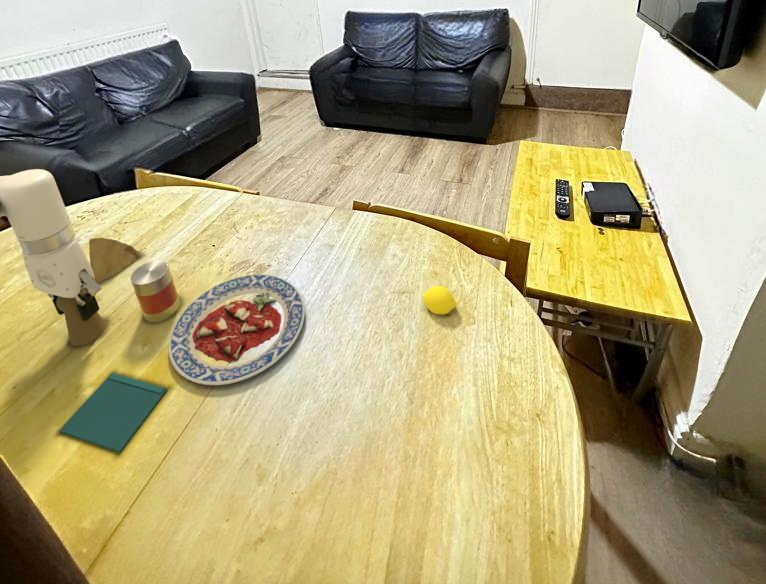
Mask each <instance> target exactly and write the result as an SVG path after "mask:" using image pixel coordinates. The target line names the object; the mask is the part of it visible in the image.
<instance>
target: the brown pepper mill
mask: <svg viewBox="0 0 766 584" xmlns="http://www.w3.org/2000/svg"><path fill="white" fill-rule="evenodd" d="M86 293H87V291H86V290H85V289H83V290H82V291H81V292H80V295H81V296H82V297H83V296H84V295H85V294H86ZM77 305H78V302H77V301H76V299H75V298H65V297H61V296H58V298H57V306H58V308H59V309H60V310H61V311H62V312H64V314H63V315H64V319H65V324H66V329H67V333H68V338H69V342H70V344H71V346H75V347H78V346H85V345H87V344H90V343H91V342H93V341H95V340H96V339H98V338H99V337H100V336H101V335H102V334H103V332H104V331H105V330H106V323H105V321H104V319H103V318H102V316H101V315H100V313H99V311H97V312H96V313H95V314H94V315H93V316H92V317H91V318H89V319H88V320H87V321H83V320H82V318H81V315H80V313H79V311H78V308H77Z"/></svg>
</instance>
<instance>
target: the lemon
mask: <svg viewBox="0 0 766 584" xmlns="http://www.w3.org/2000/svg"><path fill="white" fill-rule="evenodd" d="M422 297H423V302H424V304H425V307H426V308H427V309H428V310H429V311H430V312H431V313H432V314H435V315H443V316H444V315H447V314H449V313H450V312H451V311H452V310H453V309H455V308H456V307H457V304H458V303H457V301H456V299H455V297H454V296H453V294H452V293H451V291H450V290H449V288H448V289H447V288H446V287H444V286H441V285H434V286H432V287H430V288H428V289H427V290H426V291H425V292H424V293H423V296H422Z"/></svg>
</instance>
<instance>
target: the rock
mask: <svg viewBox="0 0 766 584" xmlns="http://www.w3.org/2000/svg"><path fill="white" fill-rule="evenodd" d="M88 243H89V244H88V245H89V246H88V249H89V253H88V254H89V263H90V265H91V268H92V270H93V273H94V278H95V279H94V281H95V282H96V283H97V284H99V283H101V282H103V281H105V280H106V279H109V278H111V277H113V276H115V275H117V274H118V273H120V272H121V271H123V269H124V268H126V267H128V266H130V265H131V264H132V263H133V262H135V261H136V260H139V259H140V258H142V255H141V252H139V251H138V250H137V249H136V248H134V246H132V245H130V244H127V243H124V242H121V241H118V240H116V239H111V238H106V237H94V238H90V239H89V241H88Z"/></svg>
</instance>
